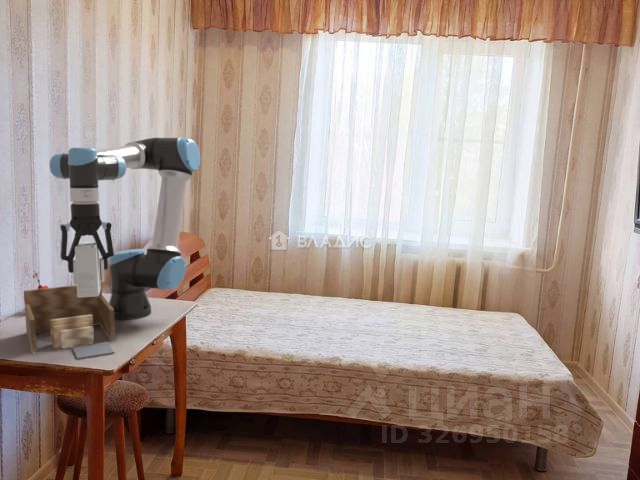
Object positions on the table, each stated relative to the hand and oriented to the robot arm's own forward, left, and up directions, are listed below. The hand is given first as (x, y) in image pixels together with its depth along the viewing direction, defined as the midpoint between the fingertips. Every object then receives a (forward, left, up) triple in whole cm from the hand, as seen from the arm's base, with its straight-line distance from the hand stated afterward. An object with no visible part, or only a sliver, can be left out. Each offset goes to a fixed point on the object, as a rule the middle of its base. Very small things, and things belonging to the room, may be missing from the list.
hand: (88, 282), depth 169 cm
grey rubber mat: (0, 0, -21) cm, 21 cm away
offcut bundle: (+4, -10, -21) cm, 24 cm away
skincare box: (0, 0, -4) cm, 4 cm away
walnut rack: (+4, -18, -21) cm, 28 cm away
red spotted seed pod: (+8, -53, -21) cm, 58 cm away
